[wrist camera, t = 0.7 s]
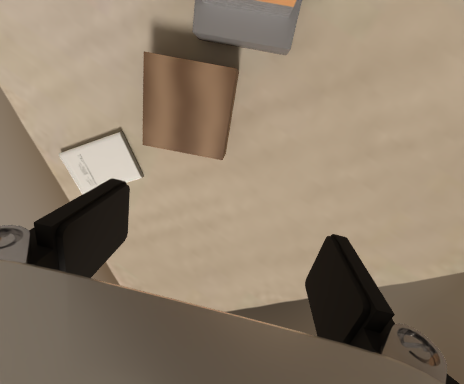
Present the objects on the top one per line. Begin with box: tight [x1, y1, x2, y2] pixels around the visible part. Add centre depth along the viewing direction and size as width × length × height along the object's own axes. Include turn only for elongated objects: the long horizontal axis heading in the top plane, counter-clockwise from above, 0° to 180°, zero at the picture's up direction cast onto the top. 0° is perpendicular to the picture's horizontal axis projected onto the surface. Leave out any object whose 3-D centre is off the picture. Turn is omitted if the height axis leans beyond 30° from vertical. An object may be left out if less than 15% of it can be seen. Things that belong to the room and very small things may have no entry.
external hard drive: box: [59, 131, 144, 194], centre depth 40 cm, size 2×8×12 cm
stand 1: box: [143, 52, 239, 160], centre depth 33 cm, size 12×12×4 cm
